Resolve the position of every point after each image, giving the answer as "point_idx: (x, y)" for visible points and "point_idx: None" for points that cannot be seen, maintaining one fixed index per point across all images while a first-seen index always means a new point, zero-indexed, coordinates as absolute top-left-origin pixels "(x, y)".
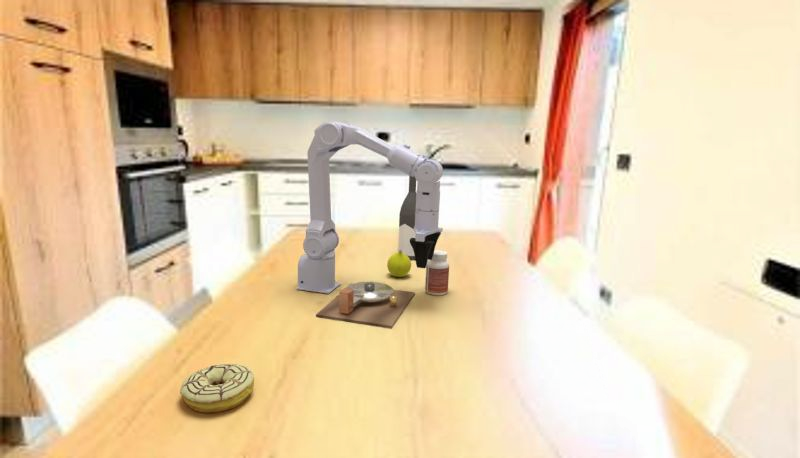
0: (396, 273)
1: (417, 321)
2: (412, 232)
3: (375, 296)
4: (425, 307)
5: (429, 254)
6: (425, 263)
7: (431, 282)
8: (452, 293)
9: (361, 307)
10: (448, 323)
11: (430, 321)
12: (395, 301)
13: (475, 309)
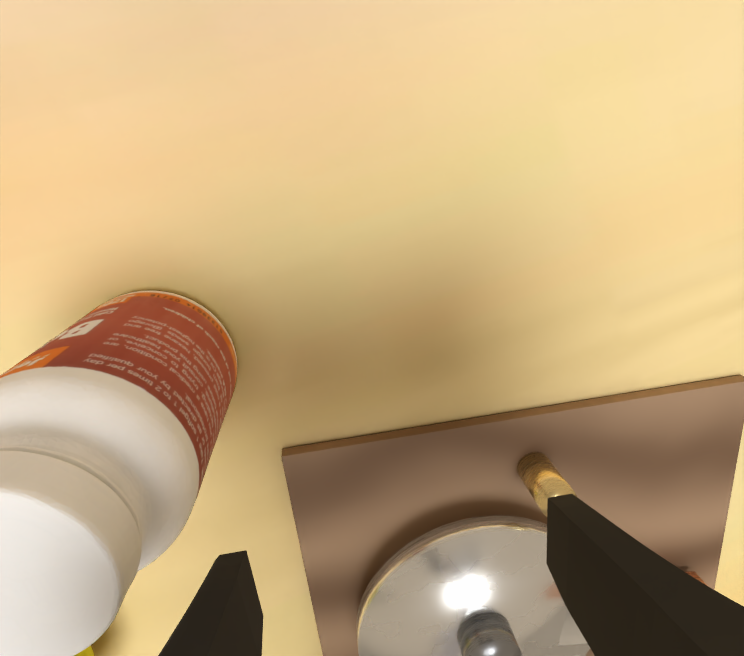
0: (93, 653)
1: (635, 301)
2: None
3: None
4: (442, 330)
5: (241, 624)
6: (610, 528)
7: (223, 412)
8: (119, 257)
9: None
10: (616, 137)
11: (617, 241)
12: (557, 473)
13: (331, 16)
